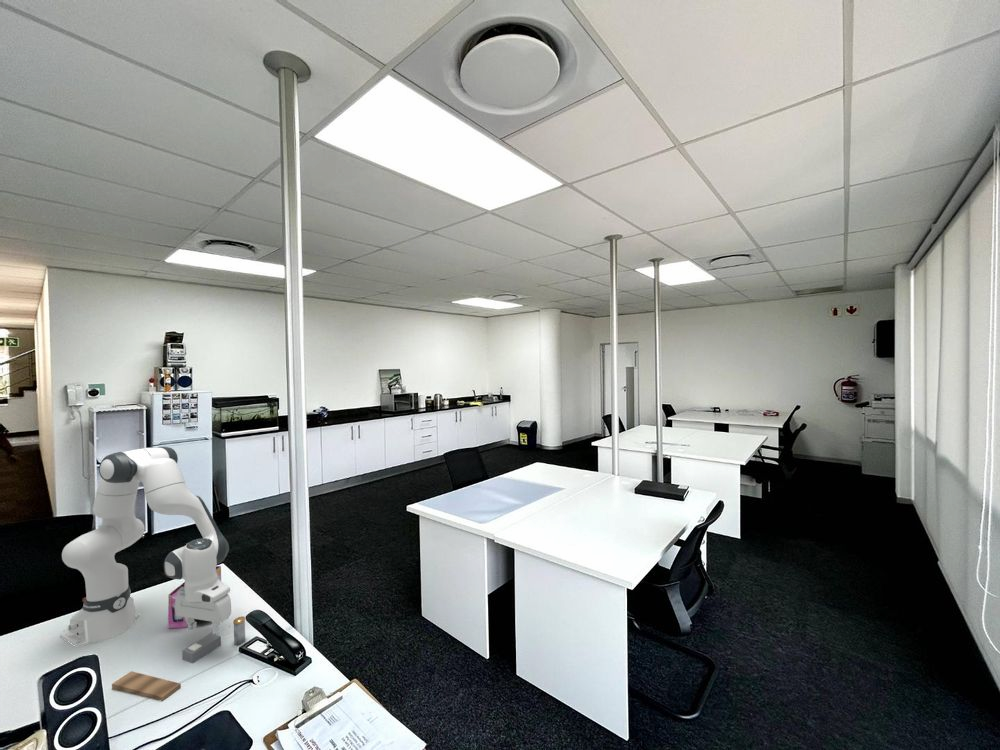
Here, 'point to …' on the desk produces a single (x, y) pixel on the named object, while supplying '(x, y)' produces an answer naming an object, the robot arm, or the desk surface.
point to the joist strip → (146, 686)
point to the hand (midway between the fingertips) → (203, 630)
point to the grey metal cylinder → (239, 630)
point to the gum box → (173, 619)
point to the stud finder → (201, 648)
